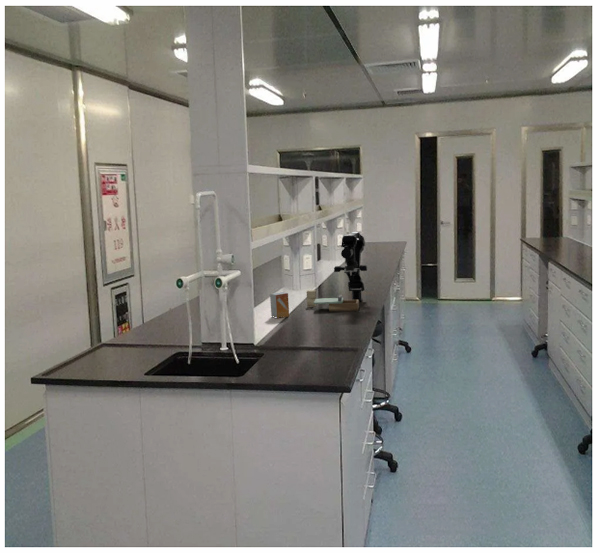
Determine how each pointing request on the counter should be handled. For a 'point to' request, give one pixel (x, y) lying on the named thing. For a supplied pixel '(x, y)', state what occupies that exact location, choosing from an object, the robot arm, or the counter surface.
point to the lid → (329, 300)
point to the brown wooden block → (311, 298)
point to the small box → (279, 304)
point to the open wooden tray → (345, 306)
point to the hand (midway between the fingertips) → (351, 283)
